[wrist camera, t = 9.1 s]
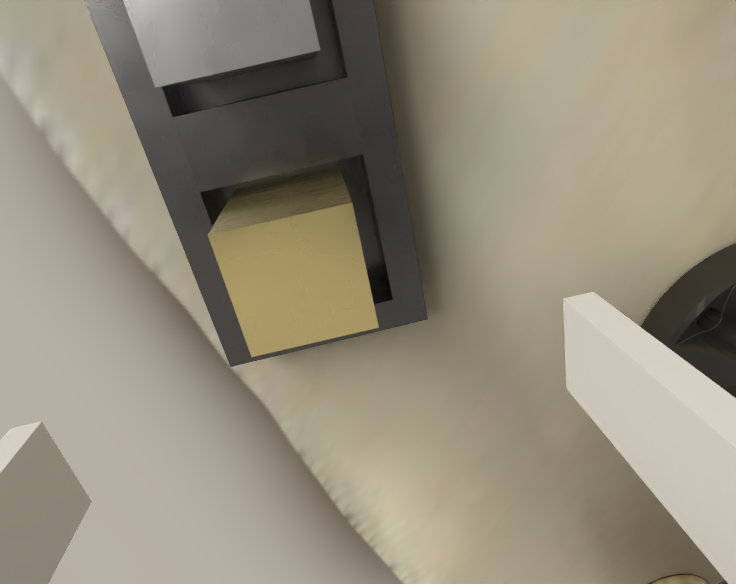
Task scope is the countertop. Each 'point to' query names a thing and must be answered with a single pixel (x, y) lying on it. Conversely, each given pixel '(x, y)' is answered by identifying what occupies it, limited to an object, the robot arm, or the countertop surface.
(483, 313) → the countertop surface
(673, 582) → the hand bell
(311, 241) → the yellow block
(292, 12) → the grey block
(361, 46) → the dark grey tray
